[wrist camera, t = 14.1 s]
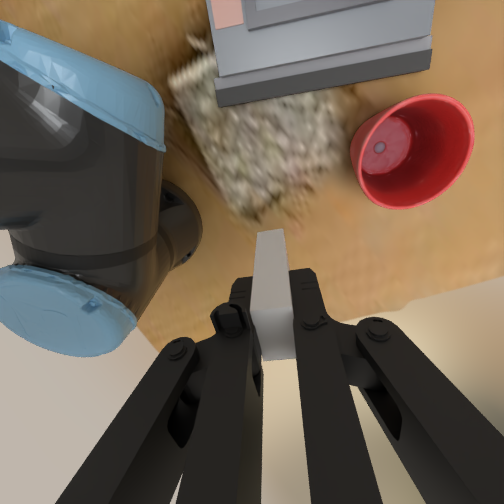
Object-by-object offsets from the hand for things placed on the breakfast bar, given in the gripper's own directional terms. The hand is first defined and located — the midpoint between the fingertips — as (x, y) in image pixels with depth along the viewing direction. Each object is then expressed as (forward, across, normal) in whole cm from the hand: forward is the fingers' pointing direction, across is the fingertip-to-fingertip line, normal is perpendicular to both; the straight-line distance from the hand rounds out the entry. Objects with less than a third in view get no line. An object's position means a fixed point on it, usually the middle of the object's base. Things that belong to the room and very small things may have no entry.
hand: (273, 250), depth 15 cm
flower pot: (+24, +14, 0) cm, 28 cm away
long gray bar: (+24, +7, +9) cm, 27 cm away
